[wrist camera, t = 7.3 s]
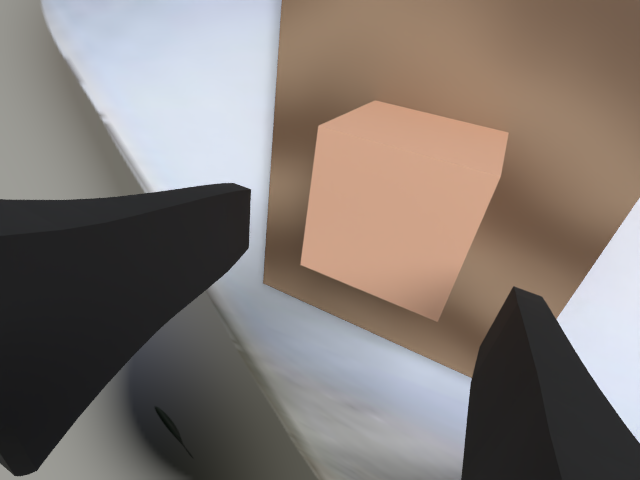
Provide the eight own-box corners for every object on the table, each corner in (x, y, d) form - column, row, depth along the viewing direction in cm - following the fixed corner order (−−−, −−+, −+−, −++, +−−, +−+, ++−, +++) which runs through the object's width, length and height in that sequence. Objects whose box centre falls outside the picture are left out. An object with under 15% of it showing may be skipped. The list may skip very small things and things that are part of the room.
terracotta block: (460, 249, 16) (437, 321, 12) (352, 211, 17) (300, 264, 13) (508, 132, 13) (500, 176, 9) (375, 100, 14) (318, 125, 10)
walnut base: (506, 370, 19) (505, 393, 18) (276, 270, 23) (263, 283, 22) (804, -86, 9) (845, -103, 8) (310, -114, 13) (290, -128, 12)
